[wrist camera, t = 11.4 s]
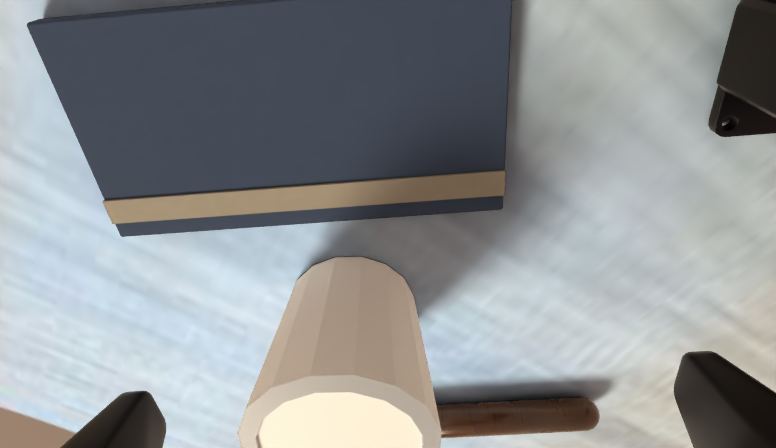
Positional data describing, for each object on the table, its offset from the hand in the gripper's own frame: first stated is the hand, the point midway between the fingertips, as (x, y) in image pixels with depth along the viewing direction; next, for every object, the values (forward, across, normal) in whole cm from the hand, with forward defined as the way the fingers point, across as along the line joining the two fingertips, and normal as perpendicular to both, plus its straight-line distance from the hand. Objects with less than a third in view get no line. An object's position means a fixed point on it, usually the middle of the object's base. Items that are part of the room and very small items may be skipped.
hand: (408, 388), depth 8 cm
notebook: (+11, +4, -1) cm, 12 cm away
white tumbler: (+12, +3, +8) cm, 14 cm away
